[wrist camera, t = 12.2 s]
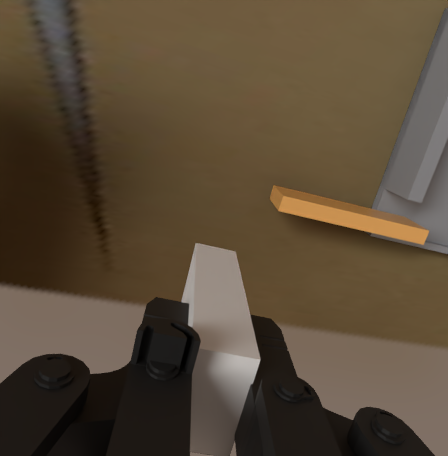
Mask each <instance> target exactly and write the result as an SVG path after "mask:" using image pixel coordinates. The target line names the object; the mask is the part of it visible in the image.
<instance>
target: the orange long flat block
mask: <svg viewBox="0 0 448 456" xmlns="http://www.w3.org/2000/svg"><path fill="white" fill-rule="evenodd" d="M270 200H271V201H272V203H273V204H274V205H275V207H276V208H277V210H278V211H281V212H285V213H289V214H293V215H298V216H302V217H306V218H310V219H315V220H319V221H323V222H328V223H332V224H336V225H340V226H345V227H349V228H353V229H357V230H362V231H366V232H370V233H375V234H379V235H383V236H387V237H392V238H396V239H400V240H404V241H409V242H413V243H417V244H422V245H424V243H425V240H426V238H427V236H428V233H429V230H427V229H425V228H424V227H422V226H420V225H418V224H417V223H415V222H413V221H411V220H409V219H408V218H406V217H404V216H399V215H395V214H391V213H387V212H383V211H379V210H375V209H371V208H366V207H362V206H358V205H354V204H350V203H346V202H342V201H337V200H333V199H329V198H325V197H321V196H317V195H313V194H309V193H304V192H300V191H296V190H292V189H288V188H284V187H280V186H276V185H274V186H273V189H272V193H271V196H270Z"/></svg>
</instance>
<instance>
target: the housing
mask: <svg viewBox="0 0 448 456" xmlns="http://www.w3.org/2000/svg"><path fill="white" fill-rule="evenodd" d="M372 209H375V210H379V211H383V212H387V213H391V214H395V215H399V216H404V217H406V218H408V219H409V220H411V221H413V222H415V223H417V224H418V225H420V226H422V227H424V228H425V229H427V230H429V233H428V236H427V238H426V240H425V243H424V245H422V244H417V243H413V242H409V241H404V240H400V239H396V238H392V237H387V236H383V235H379V234H375V233H370V232H366V231H365V232H366V233H367V234H369V235H370V236H372V237H377V238H381V239H385V240H390V241H394V242H398V243H402V244H407V245H411V246H415V247H420V248H424V249H428V250H433V251H437V252H441V253H445V254H448V8H446V9H445V10H444V12H443V15H442V18H441V21H440V23H439V26H438V29H437V32H436V34H435V37H434V40H433V42H432V45H431V48H430V51H429V53H428V56H427V59H426V61H425V64H424V67H423V70H422V72H421V75H420V78H419V81H418V83H417V86H416V89H415V91H414V94H413V97H412V100H411V102H410V105H409V108H408V111H407V113H406V116H405V119H404V121H403V124H402V127H401V130H400V132H399V135H398V138H397V140H396V143H395V146H394V149H393V151H392V154H391V157H390V160H389V162H388V165H387V168H386V170H385V173H384V176H383V179H382V181H381V184H380V187H379V190H378V192H377V195H376V198H375V200H374V203H373V206H372Z"/></svg>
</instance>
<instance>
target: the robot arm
mask: <svg viewBox="0 0 448 456" xmlns="http://www.w3.org/2000/svg"><path fill="white" fill-rule="evenodd" d="M234 441H235V443H236V454H237V456H435V455H434V454H433V453H432V452H431V451H430V450H429V448H428V447H427V446H426V445H425V444H424V443H423V442H422V441H421V439H420V438H419V437H418V436H417V435H416V434H415V433H414V431H413V430H412V429H411V428H410V427H409V426H407V425H406V424H405V423H404V422H403V421H402V420H401V419H399V418H397V417H396V416H394V415H393V414H392V413H389V412H387V411H385V410H381V409H379V408H373V407H365V408H361V409H360V410H359V411H358V412H357V413H356V415H355V417H354V420H350V419H348V418H346V417H343V416H341V415H338V414H336V413H333V412H331V411H329V410H327V409H325V408H323V407H322V405H321V402H320V399H319V397H318V395H317V393H316V392H315V390H314V389H313V388H312V387H311V386H310V385H309V384H308V383H307V382H305V381H304V380H302V379H300V378H298V377H297V374H296V371H295V369H294V366H293V363H292V360H291V357H290V354H289V351H287V346H286V343H285V342H284V337H283V334H282V331H281V329H280V328H279V327H278V326H277V325H276V324H275V323H274V321H273V320H272V319H270V318H265V317H260V316H255V315H250V312H249V308H248V303H247V299H246V295H245V290H244V286H243V282H242V277H241V273H240V269H239V264H238V260H237V256H236V252H235V251H231V250H226V249H222V248H217V247H212V246H208V245H203V244H199V243H196V244H195V249H194V253H193V257H192V261H191V265H190V269H189V273H188V277H187V281H186V285H185V289H184V293H183V297H182V302H178V301H173V300H168V299H163V298H158V297H156V298H154V299H153V300H152V301H151V302H149V303H148V304H147V306H146V310H145V313H144V318H143V321H142V324H141V325H140V327H139V328H138V330H137V334H136V339H135V344H134V349H133V353H132V358H131V361H130V362H129V363H128V364H127V365H126V366H125V367H123V368H121V369H119V370H116V371H113V372H108V373H101V374H90V370H89V368H88V367H87V366H86V365H85V364H84V362H82V361H81V360H79V359H77V358H75V357H73V356H68V355H63V354H46V355H42V356H38V357H35V358H32V359H31V360H29V361H27V362H26V363H24V364H22V365H21V366H20V367H19V368H18V369H17V370H16V371H14V372H13V373H12V374H11V375H10V376H8V377H7V378H6V379H5V380H4V381H3V382H2V383H0V456H190V452H194V453H200V454H207V455H214V456H230V453H231V450H232V447H233V444H234Z"/></svg>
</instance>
